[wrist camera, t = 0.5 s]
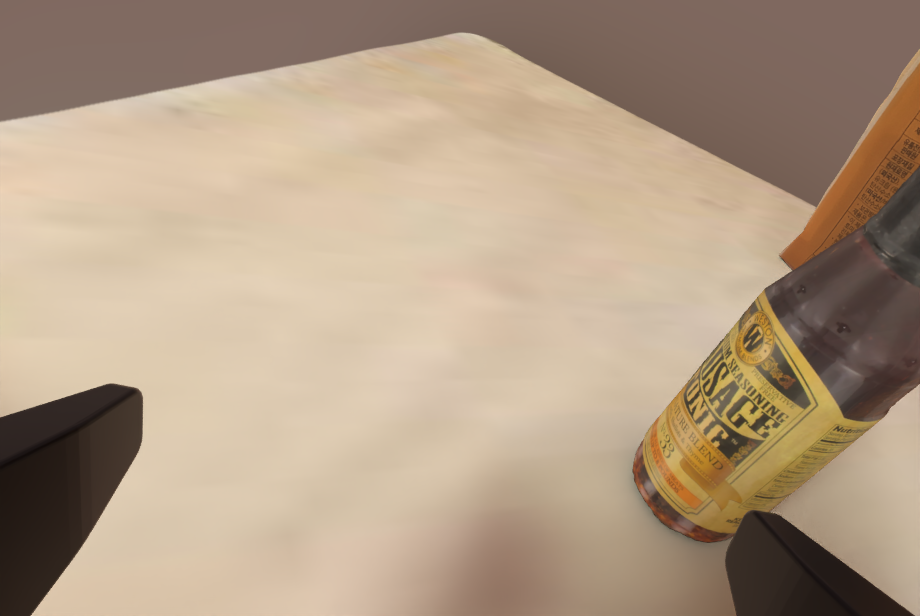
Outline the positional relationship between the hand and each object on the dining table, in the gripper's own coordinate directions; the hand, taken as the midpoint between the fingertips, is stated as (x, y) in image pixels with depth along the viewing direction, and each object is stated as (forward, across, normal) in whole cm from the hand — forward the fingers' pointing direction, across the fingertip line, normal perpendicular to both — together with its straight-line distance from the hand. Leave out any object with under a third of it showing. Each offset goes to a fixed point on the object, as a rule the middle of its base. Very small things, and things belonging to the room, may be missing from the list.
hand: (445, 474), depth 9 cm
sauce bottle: (+18, -14, +12) cm, 26 cm away
